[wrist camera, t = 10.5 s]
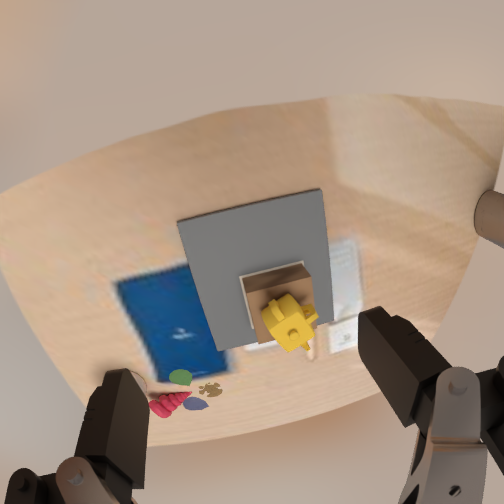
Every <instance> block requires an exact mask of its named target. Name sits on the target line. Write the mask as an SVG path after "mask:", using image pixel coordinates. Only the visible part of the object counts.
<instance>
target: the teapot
mask: <svg viewBox="0 0 504 504" xmlns="http://www.w3.org/2000/svg"><path fill="white" fill-rule="evenodd" d="M268 304H269V306H268V307H266V308H265V309H264V310H262V311H261V315H262V318H263V321H264V323H265V325H266V327H267V329H268V330H269V332H270V333H271V335H272V336H273V337H274V339H275V340H276V341H277V342H278V343H279V344H280V345H281V346H282V347H283V348H284V349H285V350H286V351H287V352H290V351H292V350H294V349H295V348H297V347H299V346H300V345H301V346H302V347H303V348H304V349H305V350H306V351H308V350H310V347H309V345H308V343H307V341H308V340H309V339H311V338H312V337H314V336H315V333H314V330H313V327H312V325H311V323H312V322H313V321H314V320H316V319H317V318H318V317H319V316H318V314H317V312H316V310H315V308H314V307H313V305H312V304H308V305H304V306H300V305H299V304H298V303H297V301H296V300H295V299H294V298H293V297H292V296H291V295H290V294H286V295H285V296H283V297H281V298H280V299H278V300H277V301H276V300H275V299H273V300H272V301H270V302H269V303H268ZM309 313H311V314H310V315H308V316H307V315H306V314H309Z"/></svg>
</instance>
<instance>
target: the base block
mask: <svg viewBox="0 0 504 504" xmlns="http://www.w3.org/2000/svg"><path fill="white" fill-rule="evenodd" d="M242 281H243V285H244V289H245V293H246V297H247V301H248V305H249V310H250V314H251V318H252V322H253V326H254V329H255V333H256V337H257V340H258V344H262V343H265V342H269V341H273V340H275V339H274V337H273V336H272V335H271V333H270V332H269V330H268V329H267V327H266V325H265V323H264V321H263V318H262V315H261V311H262V310H264V309H265V308H266V307H268V306H269V304H268V303H269V302H270V301H272V300H273V299H275V300H276V301H277V300H278V299H280V298H281V297H283V296H285V295H286V294H290V295H291V296H292V297H293V298H294V299H295V300H296V301H297V303H298V304H299V305H300V306H304V305H308V304H312V305H313V307H314V308H315V304H314V295H313V286H312V277H311V275H310V274H309V273H308V271H307V270H306V268H305V267H304V266H303V264H302V263H300V264H296V265H292V266H288V267H284V268H280V269H277V270H273V271H269V272H265V273H261V274H257V275H253V276H249V277H245V278H242ZM310 314H311V313H309V314H306V315H307V316H308V315H310ZM311 325H312V327H313V329H316V328H317V324H316V320H314V321H313V322H312V323H311Z"/></svg>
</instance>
